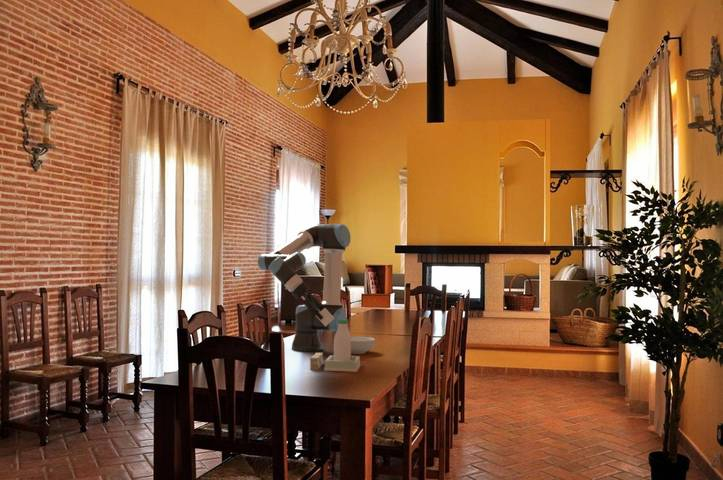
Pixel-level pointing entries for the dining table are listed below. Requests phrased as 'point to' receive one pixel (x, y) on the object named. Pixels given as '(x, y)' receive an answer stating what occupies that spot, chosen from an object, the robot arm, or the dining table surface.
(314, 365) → the board
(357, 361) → the cradle
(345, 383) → the dining table surface
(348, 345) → the milk bottle
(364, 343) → the cereal bowl
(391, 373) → the dining table surface
